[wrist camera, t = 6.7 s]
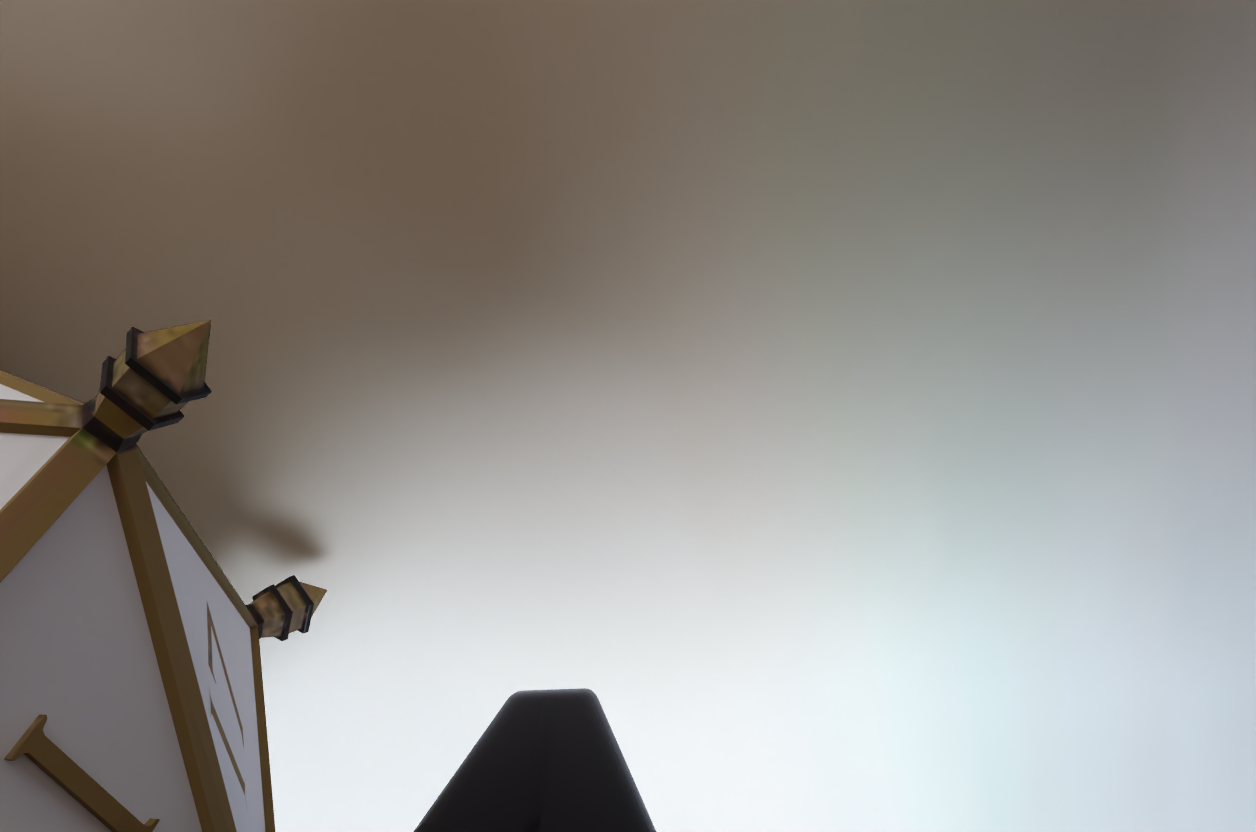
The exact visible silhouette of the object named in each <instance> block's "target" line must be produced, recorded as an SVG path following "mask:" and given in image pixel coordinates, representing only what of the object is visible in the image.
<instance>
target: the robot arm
mask: <svg viewBox="0 0 1256 832" xmlns="http://www.w3.org/2000/svg"><path fill="white" fill-rule="evenodd" d="M414 832H656V830H655V828H654V826H653V824H652V821H651V819H650V817H649V814H648V812H647V810H646V808H645V805H644V803H643V801H642V798H641V796H640V794H639V792H638V789H637V787H636V785H635V782H634V780H633V778H632V775H631V773H630V771H629V769H628V766H627V764H626V762H625V759H624V757H623V755H622V753H621V750H620V748H619V746H618V743H617V741H616V739H615V737H614V734H613V732H612V730H611V727H610V725H609V723H608V721H607V718H606V716H605V714H604V711H603V709H602V707H601V704H600V702H599V700H598V698H597V696H596V695H595V693H594V692H593V691H591V690H589V689H558V690H530V691H518V692H516V693H514V694H513V695H511V696H510V697H509V698H508V700H507V701H506V702H505V704H504V705H503V707H502V708H501V710H500V711H499V712H498V714H497V715H496V717H495V718H494V719H493V721H492V722H491V724H490V725H489V726H488V728H487V729H486V731H485V732H484V733H483V735H482V736H481V738H480V739H479V741H478V742H477V743H476V745H475V746H474V748H473V749H472V750H471V752H470V753H469V755H468V756H467V757H466V759H465V760H464V762H463V763H462V764H461V766H460V767H459V769H458V770H457V772H456V773H455V774H454V776H453V777H452V779H451V780H450V781H449V783H448V784H447V786H446V787H445V788H444V790H443V791H442V793H441V794H440V795H439V797H438V798H437V800H436V801H435V803H434V804H433V805H432V807H431V808H430V810H429V811H428V812H427V814H426V815H425V817H424V818H423V819H422V821H421V822H420V824H419V825H418V826H417V828H416V829H415V831H414Z"/></svg>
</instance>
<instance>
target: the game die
mask: <svg viewBox="0 0 1256 832" xmlns="http://www.w3.org/2000/svg"><path fill="white" fill-rule="evenodd" d="M210 328H211V320H207V321H202V322H197V323H192V324H187V325H182V326H177V327H171V328H166V329H161V330H156V331H151V332H146V333H145V332H143V331H140V330H138V329H136V328H134V327H132V328H131V329H130V330H129V332H128V333H127V339H126V349H125V350H124V351H123V353H122V354H121V355H120V356H119V357H118V359H115V358H112V357H110V356H108V357H107V358H106V360H105V361H104V362H103V364H102V375H101V385H100V390H99V392H98V394H97V396H96V398H94V399H92V400H90V401H89V402H87V403H82V402H80V401H77V400H74V399H72V398H69V397H67V396H64V395H62V394H59V393H57V392H54V391H52V390H49V389H47V388H44V387H42V386H39V385H37V384H34V383H32V382H29V381H27V380H24V379H22V378H19V377H17V376H14V375H11V374H9V373H6V372H4V371H1V370H0V832H275V824H274V812H273V800H272V788H271V776H270V764H269V752H268V741H267V729H266V717H265V705H264V693H263V681H262V669H261V658H260V646H259V639H260V638H261V637H276V638H277V639H279V640H281V641H284V640H286V639H288V634H289V633H290V632H293V631H296V630H298V631H300V632H302V633H306V632H308V630H309V625H310V620H311V617H312V615H313V613H314V612H315V610H316V608H317V607H318V605H319V603H320V602H321V600H322V598H323V596H324V595H325V593H326V591H327V590H325V589H322V588H319V587H315V586H312V585H309V584H305V583H302V582H299V581H298V580H297V578H296V577H295V576H294V575H293V576H291V577H289V578H287V579H285V580H284V581H282V582H281V583H279V584H277V585H276V586H274V584H273V585H271V586H269V587H267V588H266V589H264V590H262V591H261V592H259V593H258V594H256V595H254V596H253V602H252V603H251V604H249V605H245V604H244V603H243V601H242V600H241V598H240V597H239V595H238V594H237V592H236V591H235V589H234V588H233V586H232V585H231V584H230V582H229V581H228V579H227V578H226V576H225V575H224V573H223V572H222V570H221V569H220V567H219V566H218V564H217V563H216V561H215V560H214V558H213V557H212V555H211V554H210V552H209V551H208V550H207V548H206V547H205V545H204V544H203V542H202V541H201V539H200V538H199V536H198V535H197V533H196V532H195V530H194V529H193V527H192V526H191V524H190V523H189V521H188V520H187V518H186V517H185V516H184V514H183V513H182V511H181V510H180V508H179V507H178V505H177V504H176V502H175V501H174V499H173V498H172V496H171V495H170V493H169V492H168V490H167V489H166V487H165V486H164V485H163V483H162V482H161V480H160V479H159V477H158V476H157V474H156V473H155V471H154V470H153V468H152V467H151V465H150V464H149V462H148V461H147V459H146V458H145V456H144V455H143V453H142V452H141V451H140V449H139V448H138V446H137V445H136V443H137V442H138V440H139V438H140V437H141V435H142V434H143V433H144V432H146V431H150V430H153V429H157V428H160V427H164V426H167V425H171V424H174V423H178V422H179V421H180V420H181V419H182V418H183V417H184V415H183V414H182V412H181V411H180V409H181V408H182V407H183V406H185V405H186V404H187V403H188V402H189V401H193V400H197V399H201V398H205V397H207V396H208V395H209V394H210V393H211V392H212V391H211V390H210V388H209V387H208V385H207V384H206V383H205V373H206V364H207V355H208V346H209V337H210Z"/></svg>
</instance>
